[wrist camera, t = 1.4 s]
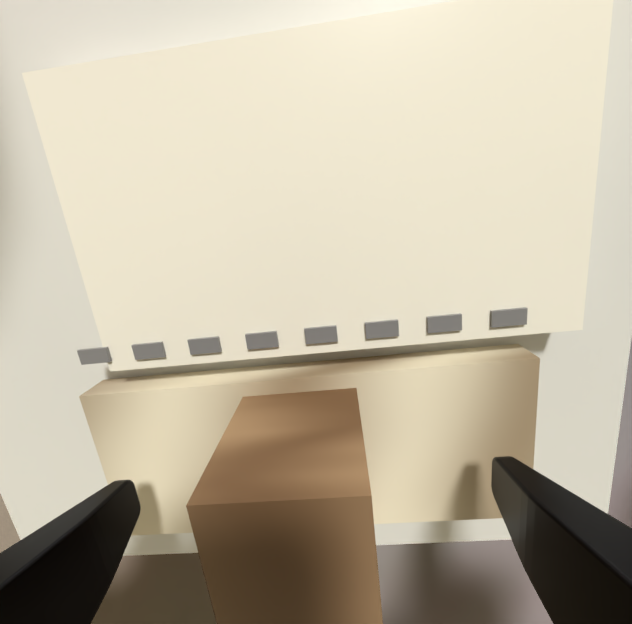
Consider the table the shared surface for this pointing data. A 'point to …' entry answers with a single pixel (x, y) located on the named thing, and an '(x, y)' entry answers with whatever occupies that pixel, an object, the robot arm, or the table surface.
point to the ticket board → (310, 211)
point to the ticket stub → (313, 466)
